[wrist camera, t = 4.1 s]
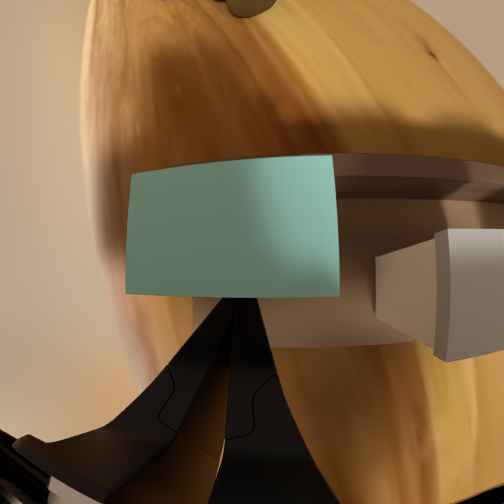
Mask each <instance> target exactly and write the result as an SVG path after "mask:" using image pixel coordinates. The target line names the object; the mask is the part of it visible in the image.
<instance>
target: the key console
mask: <svg viewBox="0 0 504 504" xmlns="http://www.w3.org/2000/svg"><path fill="white" fill-rule="evenodd" d="M326 155H332V160H333V170H334V180H335V192H336V206H337V222H338V242H339V279H340V297H296V298H257V299H258V302H259V306H260V310H261V314H262V317H263V321H264V325H265V329H266V332H267V336H268V340H269V343H270V347H271V348H326V347H351V346H368V345H382V344H394V343H405V342H414V341H417V340H416V339H414V338H412V337H410V336H408V335H407V334H405V333H403V332H401V331H399V330H397V329H396V328H394V327H392V326H390V325H388V324H386V323H385V322H383V321H381V320H379V319H377V318H376V266H375V257H378V256H381V255H385V254H388V253H391V252H394V251H397V250H401V249H404V248H407V247H410V246H413V245H416V244H419V243H422V242H425V241H428V240H431V239H434V238H435V235H434V234H435V233H437V232H440V231H443V230H445V229H504V166H500V165H494V164H487V163H481V162H473V161H466V160H457V159H448V158H438V157H426V156H412V155H394V154H363V153H324V154H291V155H272V156H257V157H245V158H233V159H223V160H214V161H205V162H197V163H189V164H181V165H174V166H168V168H174V167H181V166H188V165H196V164H204V163H213V162H223V161H233V160H245V159H258V158H273V157H292V156H326ZM221 298H222V297H193V327H194V331H195V330H196V329H197V328H198V326H199V325H200V324H201V323H202V322H203V320H204V319H205V318H206V317H207V315H208V314H209V313H210V312H211V311H212V309H213V308H214V307H215V306H216V304H217V303H218V302H219V301H220V299H221Z"/></svg>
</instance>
